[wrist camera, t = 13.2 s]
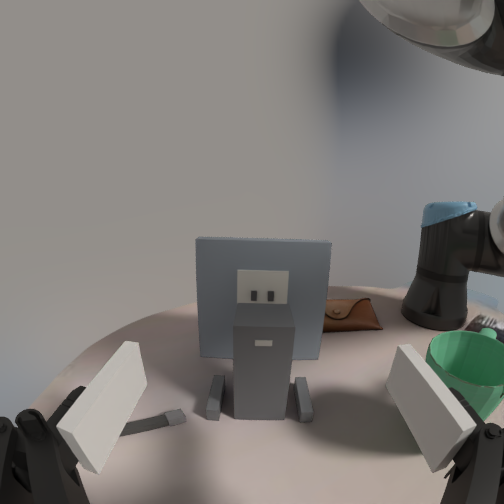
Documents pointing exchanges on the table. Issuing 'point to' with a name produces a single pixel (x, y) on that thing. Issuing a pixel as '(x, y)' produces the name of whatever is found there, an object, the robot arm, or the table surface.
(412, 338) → the table surface
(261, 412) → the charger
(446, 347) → the mug
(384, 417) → the table surface
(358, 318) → the sunglasses case
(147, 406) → the table surface
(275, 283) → the outlet board
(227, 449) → the table surface
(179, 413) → the grey long bar
